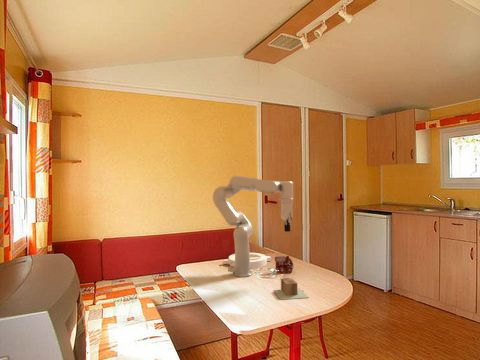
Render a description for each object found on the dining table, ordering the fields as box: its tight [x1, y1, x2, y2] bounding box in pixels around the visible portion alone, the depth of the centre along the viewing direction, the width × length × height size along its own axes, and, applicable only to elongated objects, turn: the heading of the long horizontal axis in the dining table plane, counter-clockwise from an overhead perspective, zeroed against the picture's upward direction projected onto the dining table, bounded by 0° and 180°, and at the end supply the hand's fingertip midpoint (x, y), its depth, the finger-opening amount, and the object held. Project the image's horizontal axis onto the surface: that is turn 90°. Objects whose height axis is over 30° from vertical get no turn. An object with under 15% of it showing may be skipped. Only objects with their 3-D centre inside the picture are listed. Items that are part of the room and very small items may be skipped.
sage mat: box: [273, 287, 309, 301], centre depth 156 cm, size 15×13×1 cm
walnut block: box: [280, 277, 298, 296], centre depth 158 cm, size 6×6×10 cm
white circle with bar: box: [222, 252, 272, 269], centre depth 218 cm, size 28×28×5 cm
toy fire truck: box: [274, 255, 294, 274], centre depth 195 cm, size 7×12×10 cm, turn 101°
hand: (287, 231), depth 181 cm, fingers closed
